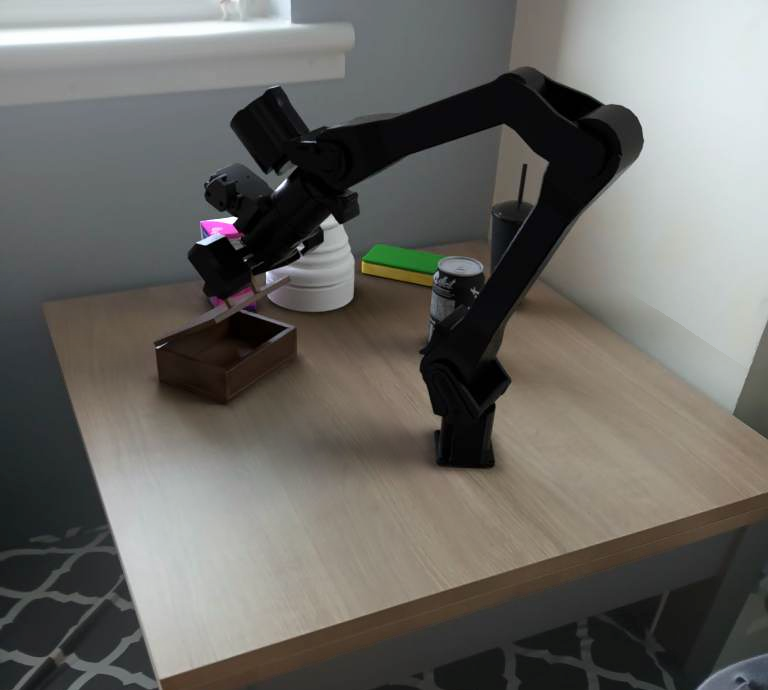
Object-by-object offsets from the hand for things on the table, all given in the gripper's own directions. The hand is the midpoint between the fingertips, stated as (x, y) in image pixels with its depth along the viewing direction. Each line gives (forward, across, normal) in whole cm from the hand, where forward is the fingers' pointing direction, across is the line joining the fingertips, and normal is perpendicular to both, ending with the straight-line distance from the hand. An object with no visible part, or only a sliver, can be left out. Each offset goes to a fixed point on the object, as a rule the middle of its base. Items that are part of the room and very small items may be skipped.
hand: (223, 284), depth 105 cm
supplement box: (+16, -15, 0) cm, 22 cm away
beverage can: (-6, -21, +23) cm, 32 cm away
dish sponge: (+5, -40, +11) cm, 42 cm away
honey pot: (+11, -25, +5) cm, 27 cm away
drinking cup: (-6, -39, +23) cm, 46 cm away
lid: (+3, 0, +3) cm, 4 cm away
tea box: (+8, 0, +8) cm, 11 cm away
